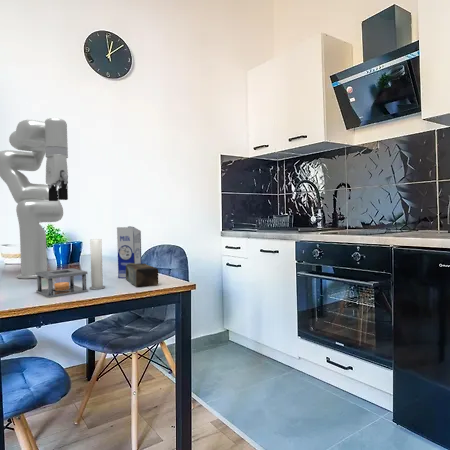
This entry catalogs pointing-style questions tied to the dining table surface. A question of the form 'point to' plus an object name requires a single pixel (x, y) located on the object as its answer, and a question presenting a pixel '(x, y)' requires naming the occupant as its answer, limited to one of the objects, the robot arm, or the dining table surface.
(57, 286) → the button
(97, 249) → the white tall block
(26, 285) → the dining table surface
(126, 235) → the milk carton
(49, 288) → the guard frame
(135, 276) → the dark brown box
